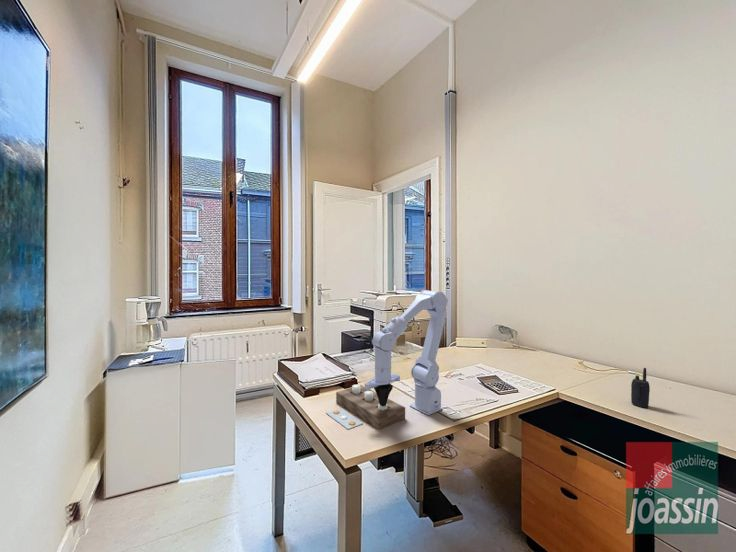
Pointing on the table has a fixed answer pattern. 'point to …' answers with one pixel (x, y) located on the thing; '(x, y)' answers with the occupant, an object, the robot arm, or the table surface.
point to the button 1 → (356, 389)
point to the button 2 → (382, 407)
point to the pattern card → (344, 418)
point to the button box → (370, 408)
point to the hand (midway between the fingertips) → (382, 405)
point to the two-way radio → (640, 391)
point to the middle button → (368, 396)
